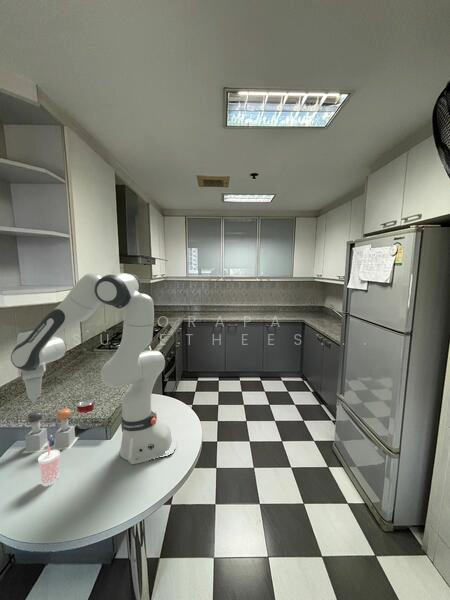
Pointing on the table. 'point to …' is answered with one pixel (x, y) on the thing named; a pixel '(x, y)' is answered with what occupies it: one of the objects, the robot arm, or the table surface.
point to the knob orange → (64, 418)
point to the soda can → (85, 406)
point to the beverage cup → (49, 466)
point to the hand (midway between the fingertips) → (34, 401)
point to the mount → (40, 440)
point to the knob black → (35, 421)
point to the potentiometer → (51, 441)
